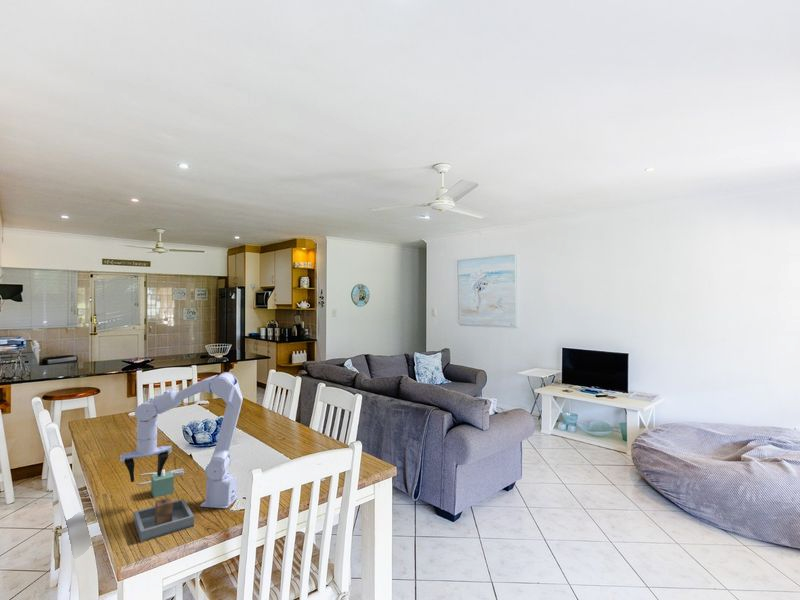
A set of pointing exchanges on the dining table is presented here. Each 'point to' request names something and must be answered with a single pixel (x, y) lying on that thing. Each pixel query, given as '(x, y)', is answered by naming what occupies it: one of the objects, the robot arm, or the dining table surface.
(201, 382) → the robot arm
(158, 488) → the green block
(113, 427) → the dining table surface
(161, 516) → the walnut block
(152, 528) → the tray
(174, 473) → the pliers
